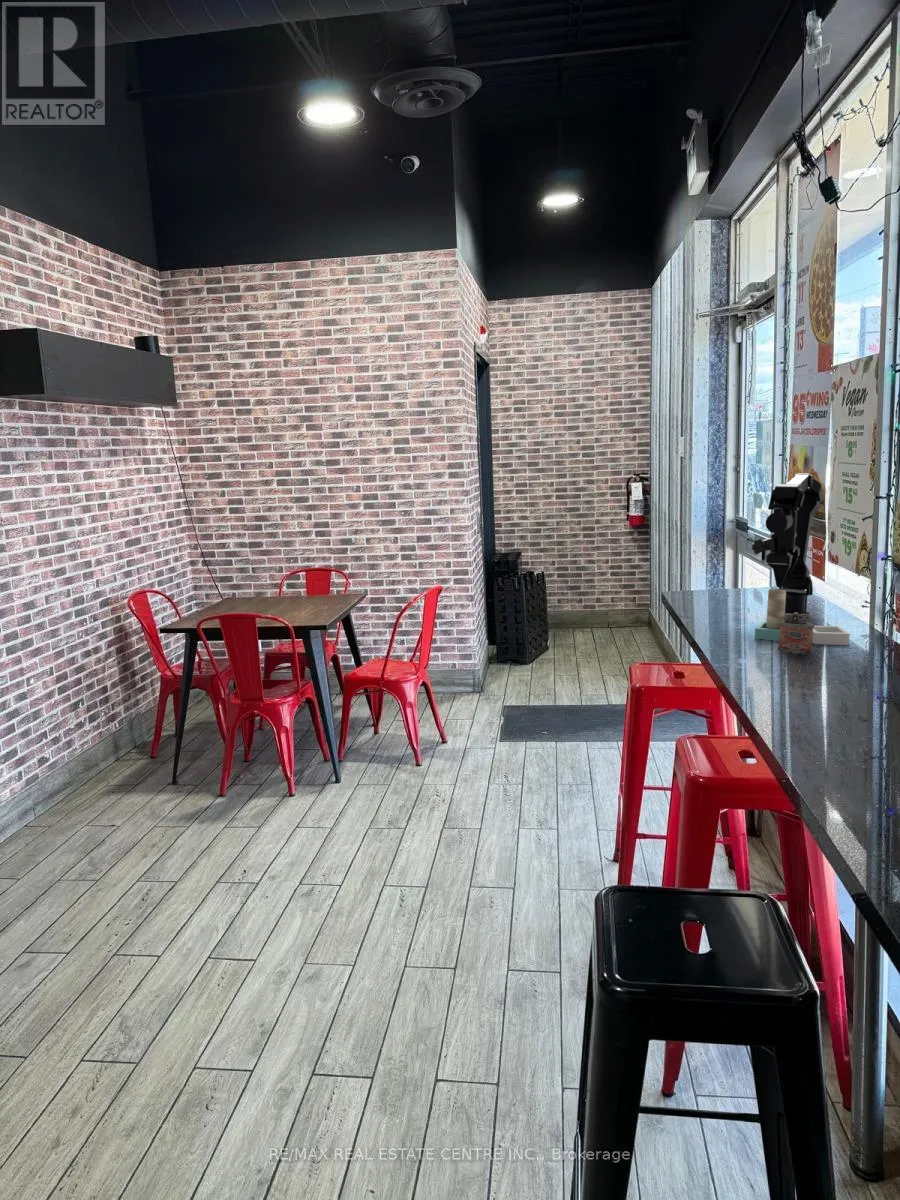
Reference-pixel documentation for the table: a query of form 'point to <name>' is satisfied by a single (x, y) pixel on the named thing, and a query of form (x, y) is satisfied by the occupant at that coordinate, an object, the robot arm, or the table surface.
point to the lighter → (796, 634)
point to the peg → (775, 608)
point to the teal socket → (766, 632)
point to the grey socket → (830, 635)
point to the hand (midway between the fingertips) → (781, 584)
